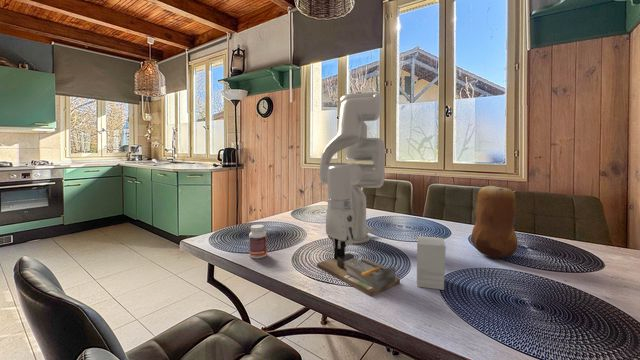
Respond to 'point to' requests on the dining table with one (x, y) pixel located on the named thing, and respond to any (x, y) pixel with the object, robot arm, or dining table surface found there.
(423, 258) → the supplement box
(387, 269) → the wooden board
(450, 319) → the dining table surface
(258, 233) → the pill bottle
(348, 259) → the grey and white block
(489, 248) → the butternut squash
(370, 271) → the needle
